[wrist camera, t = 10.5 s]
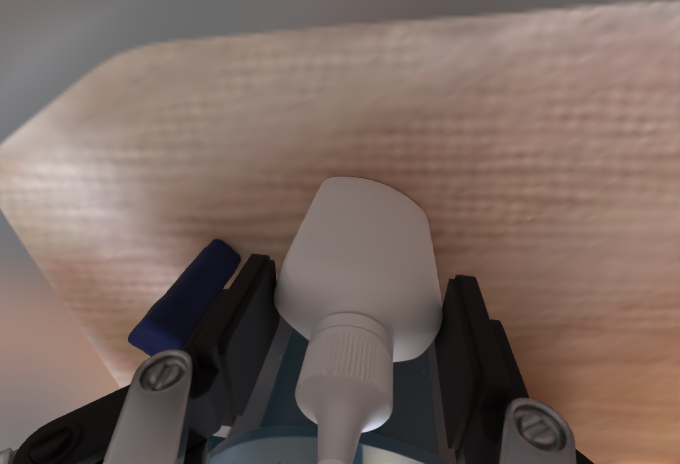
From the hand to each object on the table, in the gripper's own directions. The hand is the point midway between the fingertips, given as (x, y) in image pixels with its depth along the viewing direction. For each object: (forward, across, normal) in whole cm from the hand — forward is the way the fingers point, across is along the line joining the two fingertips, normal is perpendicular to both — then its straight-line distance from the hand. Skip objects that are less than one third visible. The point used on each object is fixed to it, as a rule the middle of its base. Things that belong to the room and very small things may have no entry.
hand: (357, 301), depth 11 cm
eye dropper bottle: (+7, 0, 0) cm, 7 cm away
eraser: (+7, +9, +4) cm, 12 cm away
